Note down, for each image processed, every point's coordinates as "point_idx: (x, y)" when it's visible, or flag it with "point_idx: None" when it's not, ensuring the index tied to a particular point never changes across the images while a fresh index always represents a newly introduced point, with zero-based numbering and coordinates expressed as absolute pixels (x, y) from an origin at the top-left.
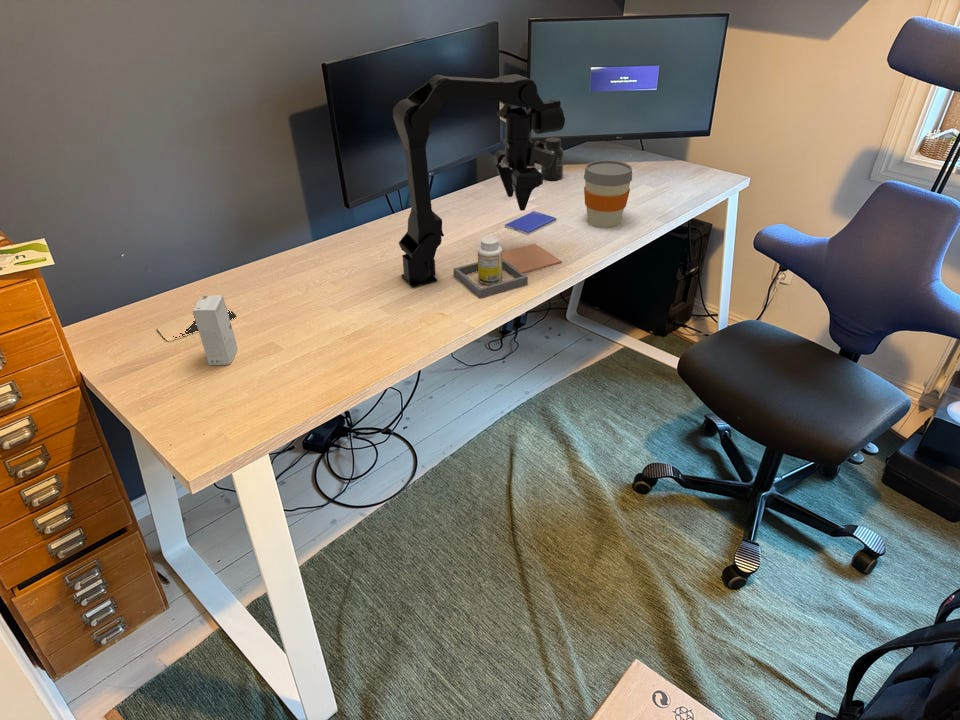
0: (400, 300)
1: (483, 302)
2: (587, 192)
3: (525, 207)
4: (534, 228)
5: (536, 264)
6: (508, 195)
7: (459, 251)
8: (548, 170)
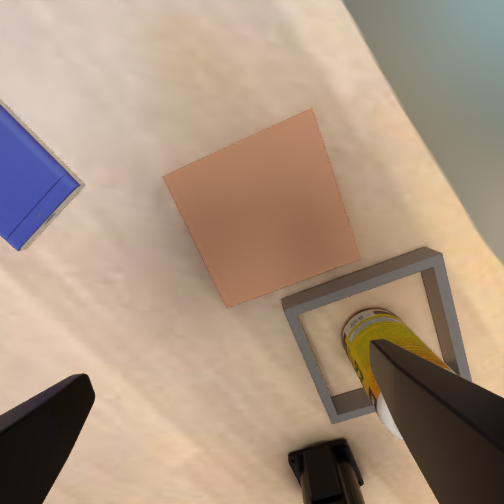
0: (406, 497)
1: (476, 361)
2: None
3: (401, 349)
4: (44, 155)
5: (320, 201)
6: (87, 408)
7: (191, 381)
8: None
